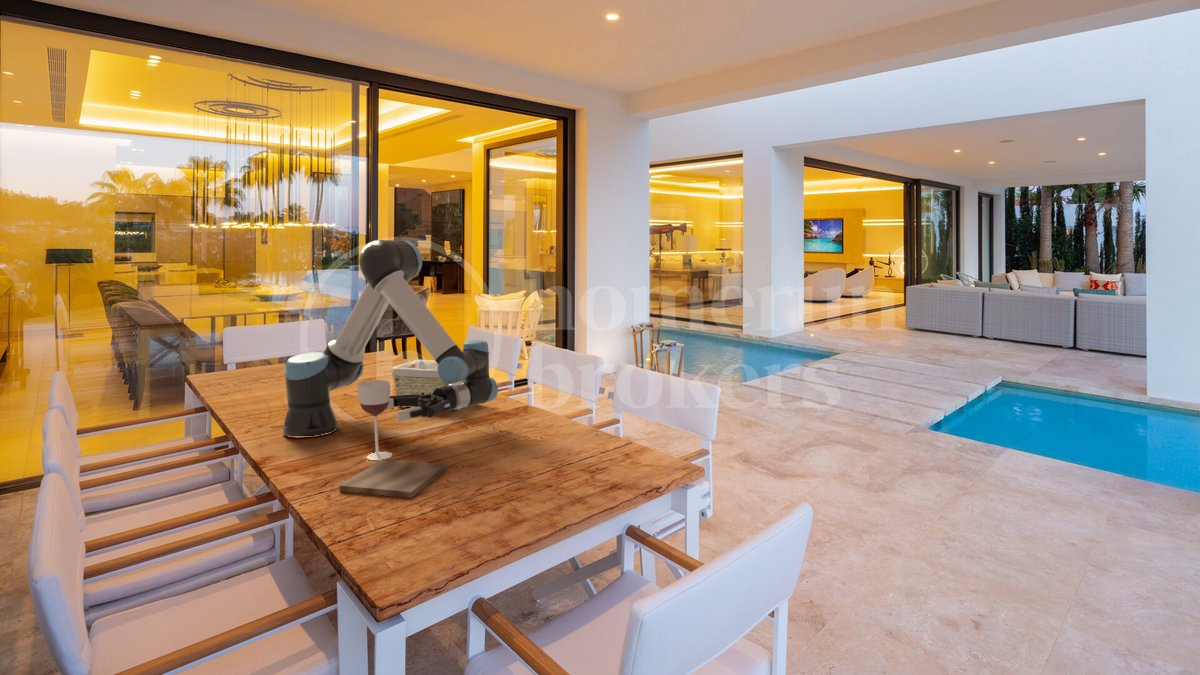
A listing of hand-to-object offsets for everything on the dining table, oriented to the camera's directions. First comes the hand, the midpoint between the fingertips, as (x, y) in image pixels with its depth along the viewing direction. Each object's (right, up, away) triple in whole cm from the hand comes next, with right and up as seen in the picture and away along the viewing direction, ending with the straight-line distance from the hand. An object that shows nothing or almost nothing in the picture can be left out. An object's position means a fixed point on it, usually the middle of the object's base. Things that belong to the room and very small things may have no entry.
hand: (384, 411), depth 168 cm
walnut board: (+9, -15, -17) cm, 24 cm away
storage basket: (-1, -4, +54) cm, 54 cm away
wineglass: (-2, -12, +1) cm, 12 cm away
